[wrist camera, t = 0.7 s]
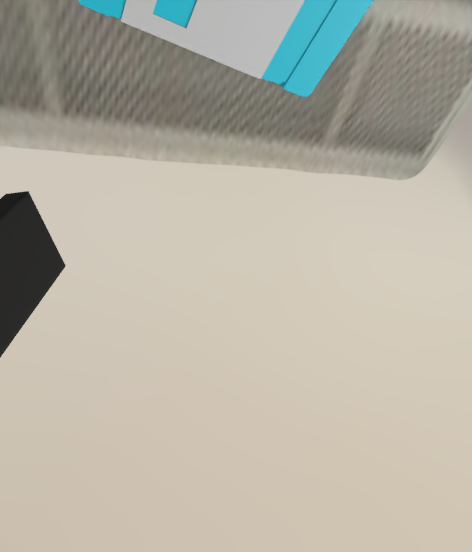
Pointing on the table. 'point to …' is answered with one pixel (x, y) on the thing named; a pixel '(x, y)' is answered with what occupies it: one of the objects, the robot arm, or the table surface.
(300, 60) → the diskette
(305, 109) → the table surface
